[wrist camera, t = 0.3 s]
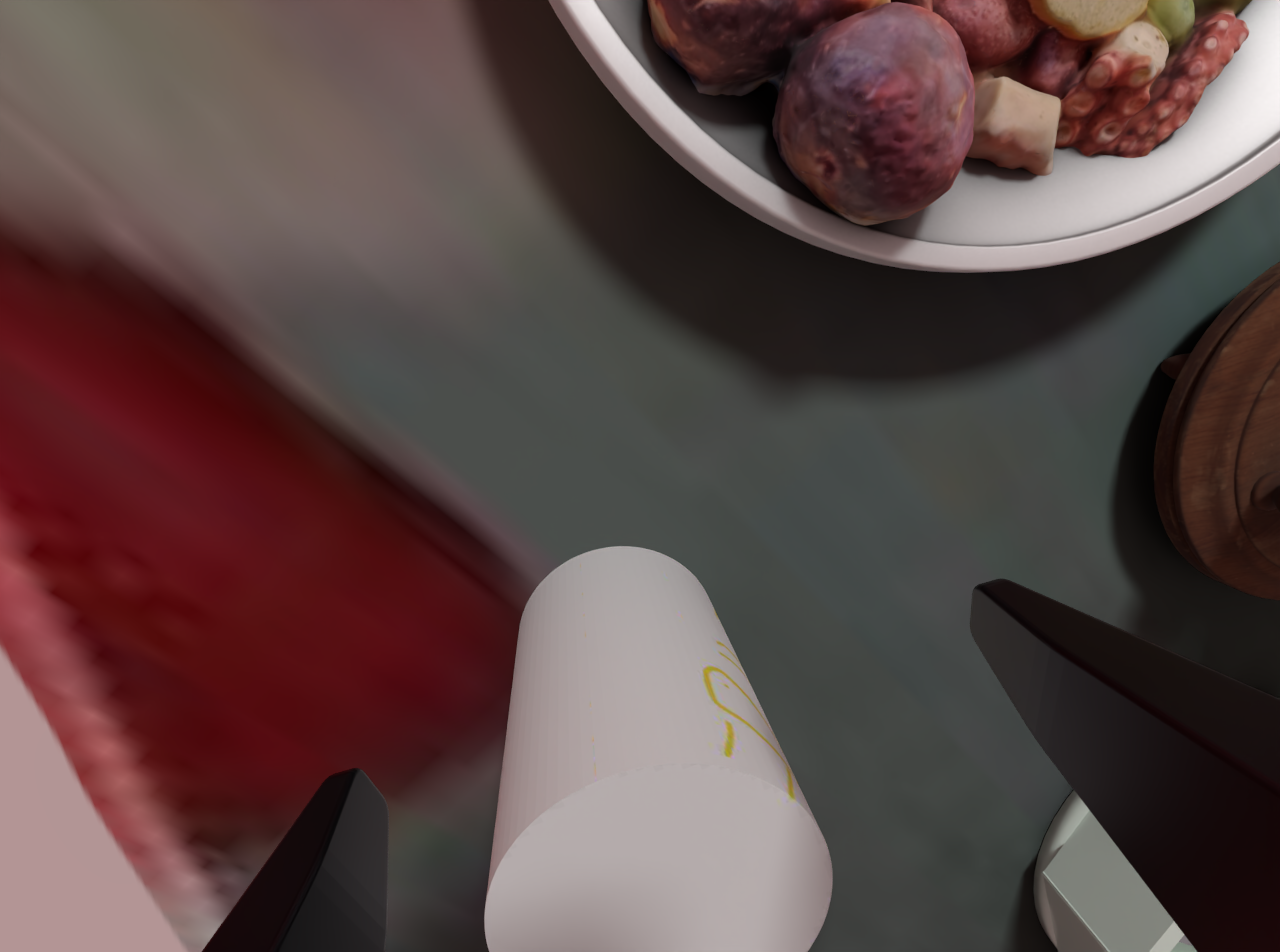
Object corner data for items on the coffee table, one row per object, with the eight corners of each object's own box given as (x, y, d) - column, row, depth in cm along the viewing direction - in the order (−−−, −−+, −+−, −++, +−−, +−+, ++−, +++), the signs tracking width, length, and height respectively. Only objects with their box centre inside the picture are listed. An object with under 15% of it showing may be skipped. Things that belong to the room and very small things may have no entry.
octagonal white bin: (1208, 1000, 38) (1324, 1127, 32) (968, 932, 34) (1052, 1064, 28) (1419, 757, 34) (1593, 852, 28) (1177, 647, 30) (1324, 732, 24)
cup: (717, 708, 28) (827, 1004, 16) (529, 733, 27) (507, 1061, 15) (712, 536, 25) (838, 740, 14) (507, 557, 24) (460, 791, 13)
